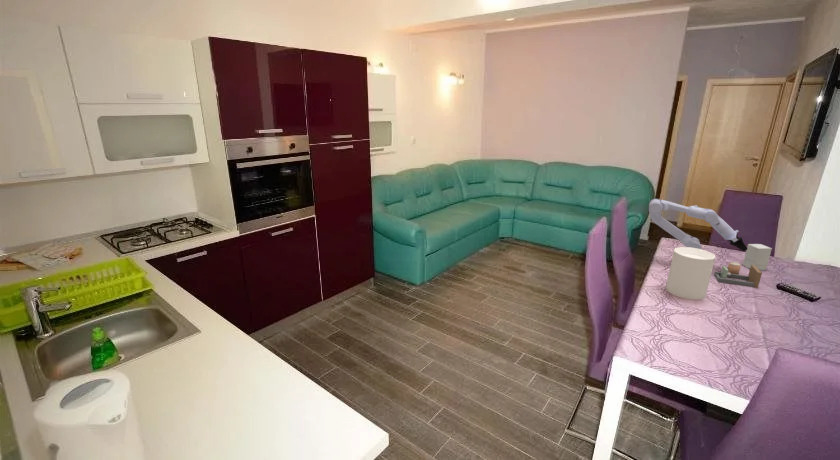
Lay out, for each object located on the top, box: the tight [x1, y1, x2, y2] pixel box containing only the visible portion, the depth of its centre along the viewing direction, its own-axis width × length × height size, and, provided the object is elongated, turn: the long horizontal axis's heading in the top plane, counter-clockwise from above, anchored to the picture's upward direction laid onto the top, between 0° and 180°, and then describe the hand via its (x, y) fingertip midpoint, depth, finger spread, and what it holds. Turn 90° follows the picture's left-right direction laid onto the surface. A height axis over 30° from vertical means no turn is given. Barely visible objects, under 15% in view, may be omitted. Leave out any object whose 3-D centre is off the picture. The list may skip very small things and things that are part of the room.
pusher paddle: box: [720, 265, 731, 279], centre depth 195 cm, size 3×6×6 cm, turn 155°
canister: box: [665, 246, 716, 301], centre depth 180 cm, size 16×16×20 cm
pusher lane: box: [713, 265, 763, 289], centre depth 193 cm, size 16×10×8 cm, turn 65°
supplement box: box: [742, 243, 773, 271], centre depth 208 cm, size 7×7×13 cm
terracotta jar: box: [727, 261, 742, 275], centre depth 201 cm, size 5×5×6 cm
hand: (743, 248), depth 198 cm, fingers open, 7 cm apart
